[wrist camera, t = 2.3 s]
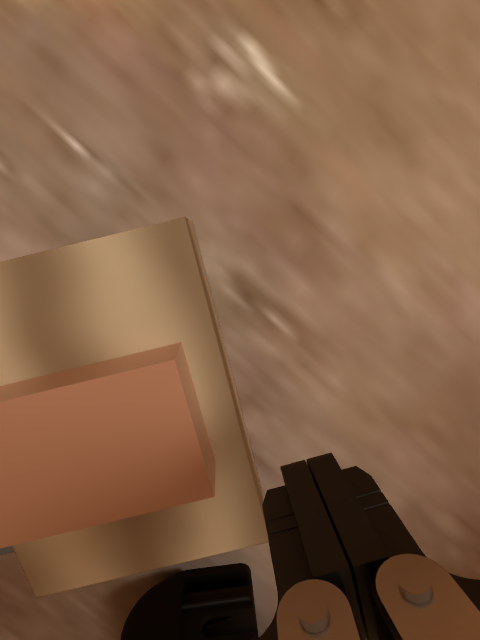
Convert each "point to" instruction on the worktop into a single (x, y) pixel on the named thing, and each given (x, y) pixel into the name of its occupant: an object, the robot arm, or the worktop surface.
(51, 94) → the worktop surface
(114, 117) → the worktop surface
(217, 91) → the worktop surface
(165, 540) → the tan wooden flat block
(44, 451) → the tile
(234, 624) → the end cap
